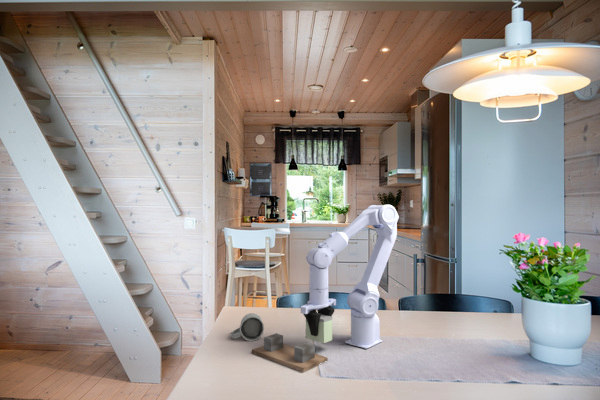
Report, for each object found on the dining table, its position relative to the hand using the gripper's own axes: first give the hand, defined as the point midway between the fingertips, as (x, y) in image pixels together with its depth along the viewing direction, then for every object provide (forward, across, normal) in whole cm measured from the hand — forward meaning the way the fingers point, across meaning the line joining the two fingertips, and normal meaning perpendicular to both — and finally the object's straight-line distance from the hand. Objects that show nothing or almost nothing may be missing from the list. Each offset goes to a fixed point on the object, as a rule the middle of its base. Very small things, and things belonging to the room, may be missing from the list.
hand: (319, 333), depth 116 cm
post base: (+4, +11, -2) cm, 12 cm away
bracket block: (+2, 0, 0) cm, 2 cm away
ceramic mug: (+5, +8, -24) cm, 25 cm away
